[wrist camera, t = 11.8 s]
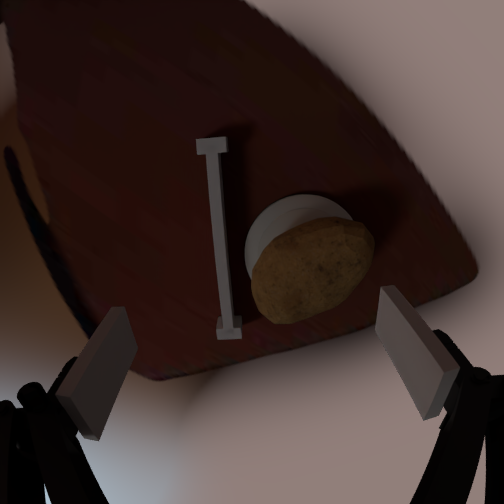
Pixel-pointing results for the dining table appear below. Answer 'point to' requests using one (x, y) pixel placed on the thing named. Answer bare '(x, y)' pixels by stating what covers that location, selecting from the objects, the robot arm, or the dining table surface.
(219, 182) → the rail
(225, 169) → the dining table surface
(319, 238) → the potato
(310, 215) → the plate
